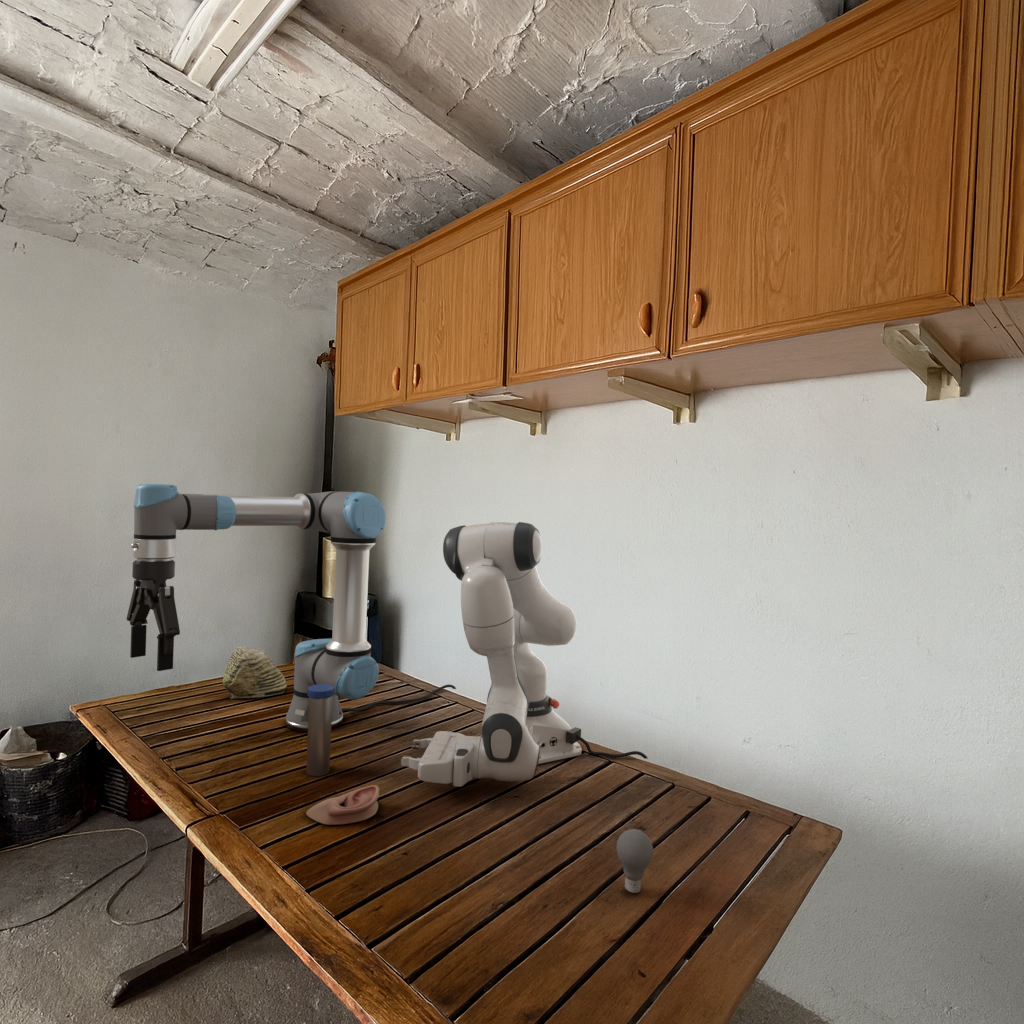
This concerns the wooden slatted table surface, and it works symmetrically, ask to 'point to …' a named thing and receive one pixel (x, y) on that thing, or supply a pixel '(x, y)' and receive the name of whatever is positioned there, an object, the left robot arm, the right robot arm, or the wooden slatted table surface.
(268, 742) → the wooden slatted table surface
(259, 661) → the fossil
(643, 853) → the light bulb
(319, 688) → the lid
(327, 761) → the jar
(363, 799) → the anatomical model
